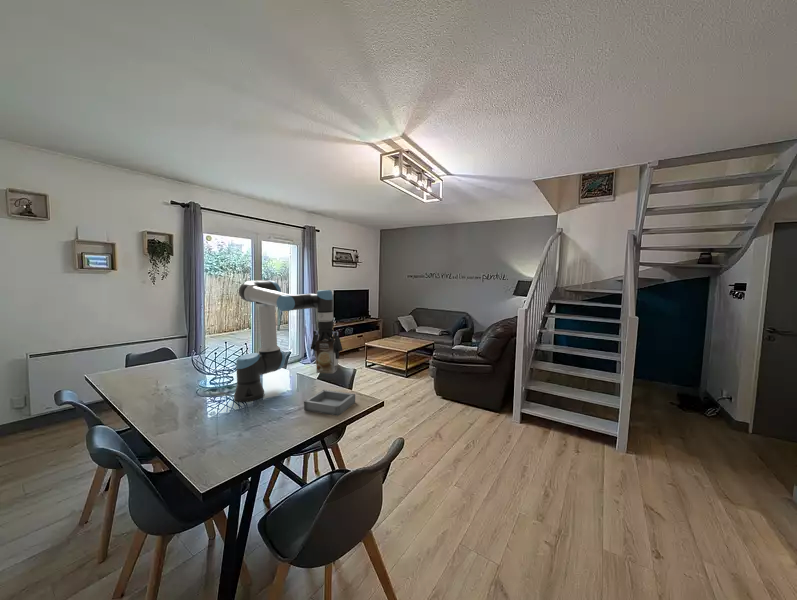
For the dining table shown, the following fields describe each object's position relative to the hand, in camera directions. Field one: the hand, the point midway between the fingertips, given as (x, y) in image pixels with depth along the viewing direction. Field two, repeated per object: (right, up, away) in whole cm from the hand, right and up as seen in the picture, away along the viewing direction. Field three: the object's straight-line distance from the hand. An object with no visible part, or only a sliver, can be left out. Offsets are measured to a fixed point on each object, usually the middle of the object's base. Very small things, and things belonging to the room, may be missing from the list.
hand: (326, 364), depth 154 cm
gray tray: (+1, -22, +2) cm, 22 cm away
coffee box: (0, -4, 0) cm, 4 cm away
